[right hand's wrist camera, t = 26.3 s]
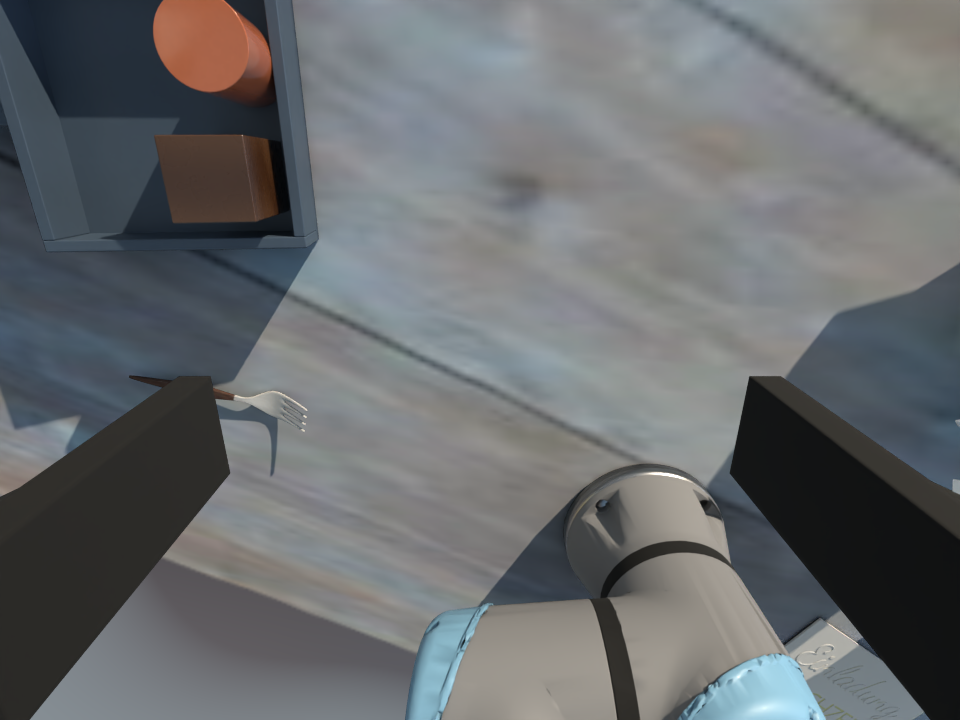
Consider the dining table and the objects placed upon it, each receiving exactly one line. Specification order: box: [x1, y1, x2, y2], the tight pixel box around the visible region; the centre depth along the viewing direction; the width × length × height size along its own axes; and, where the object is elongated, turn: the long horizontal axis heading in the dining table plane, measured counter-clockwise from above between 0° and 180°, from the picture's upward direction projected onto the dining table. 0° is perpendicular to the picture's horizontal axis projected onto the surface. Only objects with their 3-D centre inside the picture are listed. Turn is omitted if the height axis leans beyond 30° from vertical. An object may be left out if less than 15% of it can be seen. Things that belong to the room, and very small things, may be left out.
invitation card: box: [784, 618, 924, 720], centre depth 60 cm, size 21×1×15 cm
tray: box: [0, 0, 319, 252], centre depth 32 cm, size 19×32×10 cm, turn 90°
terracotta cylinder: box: [153, 0, 276, 108], centre depth 32 cm, size 5×5×8 cm
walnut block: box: [154, 135, 290, 224], centre depth 35 cm, size 5×5×8 cm
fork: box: [129, 376, 307, 432], centre depth 45 cm, size 3×16×2 cm, turn 77°
